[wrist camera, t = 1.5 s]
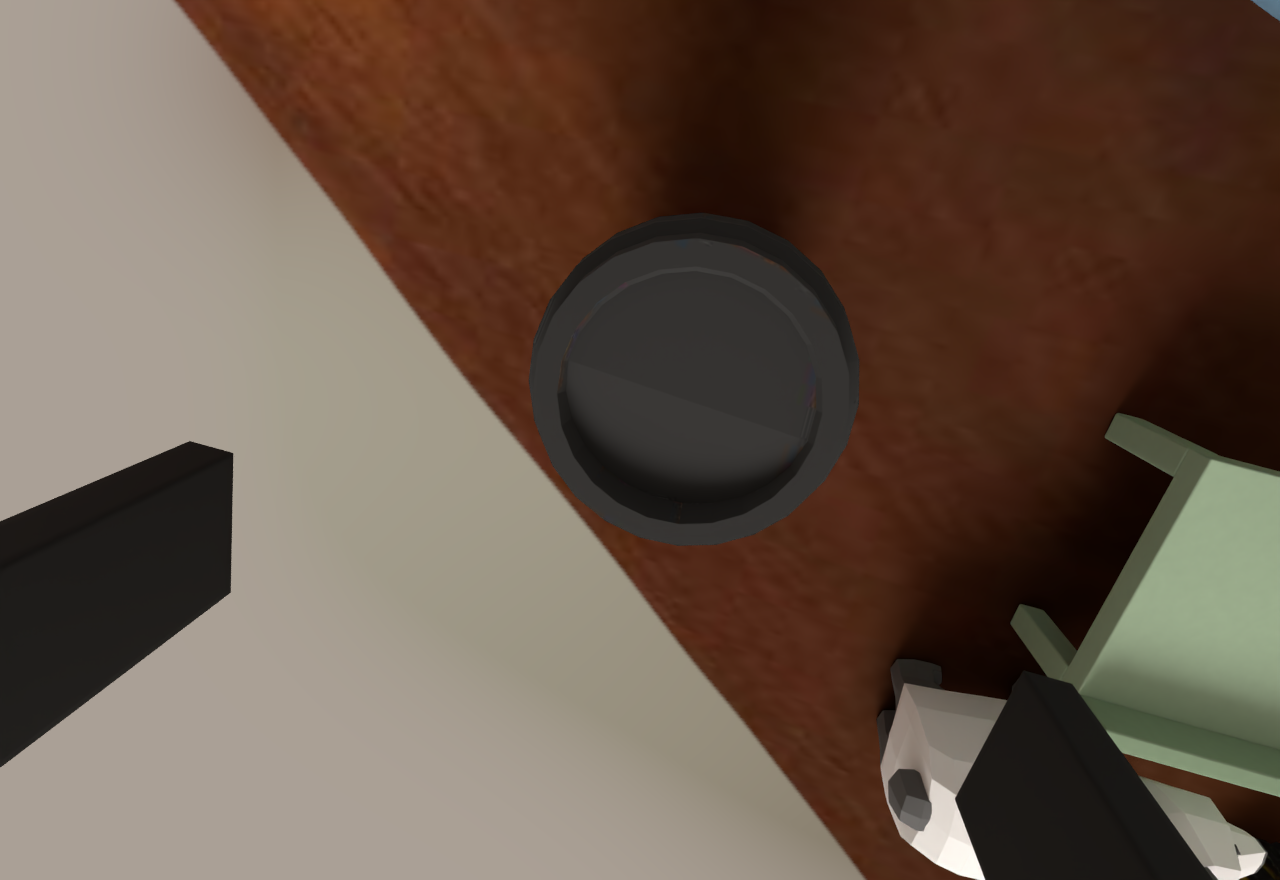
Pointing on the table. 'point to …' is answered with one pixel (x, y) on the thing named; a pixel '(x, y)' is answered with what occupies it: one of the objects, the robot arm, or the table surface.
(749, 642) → the table surface
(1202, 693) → the shelf
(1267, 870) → the tape measure
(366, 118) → the table surface
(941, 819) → the giant panda
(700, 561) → the table surface
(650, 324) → the coffee cup
